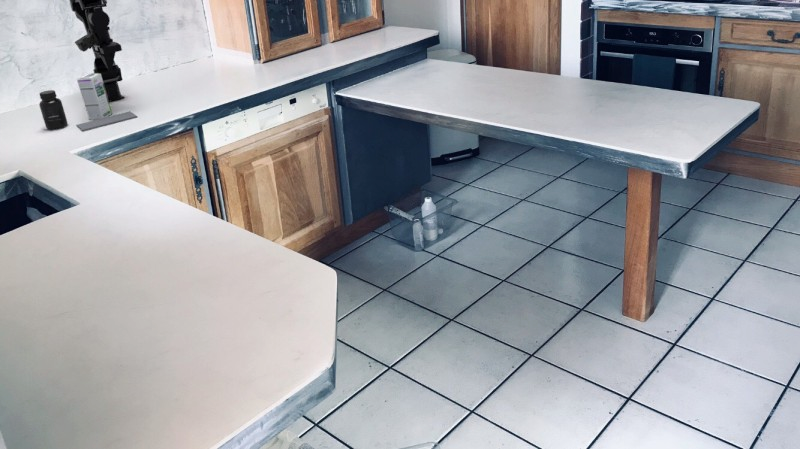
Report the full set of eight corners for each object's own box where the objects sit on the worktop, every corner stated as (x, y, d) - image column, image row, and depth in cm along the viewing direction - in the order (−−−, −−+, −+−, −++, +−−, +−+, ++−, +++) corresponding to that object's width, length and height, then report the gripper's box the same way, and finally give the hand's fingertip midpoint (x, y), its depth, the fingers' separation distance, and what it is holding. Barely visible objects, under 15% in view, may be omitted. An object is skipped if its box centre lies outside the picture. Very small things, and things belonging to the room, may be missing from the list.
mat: (76, 126, 243) (76, 124, 243) (130, 112, 252) (129, 111, 251) (82, 131, 237) (82, 130, 237) (137, 117, 246) (137, 115, 245)
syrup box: (103, 119, 247) (91, 77, 241) (88, 119, 248) (76, 78, 242) (112, 114, 252) (101, 72, 246) (97, 114, 253) (85, 73, 247)
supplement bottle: (54, 131, 240) (43, 96, 235) (42, 129, 243) (31, 94, 238) (72, 124, 245) (62, 89, 240) (60, 122, 248) (49, 88, 243)
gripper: (65, 26, 250) (78, 71, 257) (82, 32, 237) (95, 79, 244) (97, 20, 256) (109, 64, 263) (116, 25, 243) (128, 71, 250)
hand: (110, 70), depth 255 cm, fingers closed
